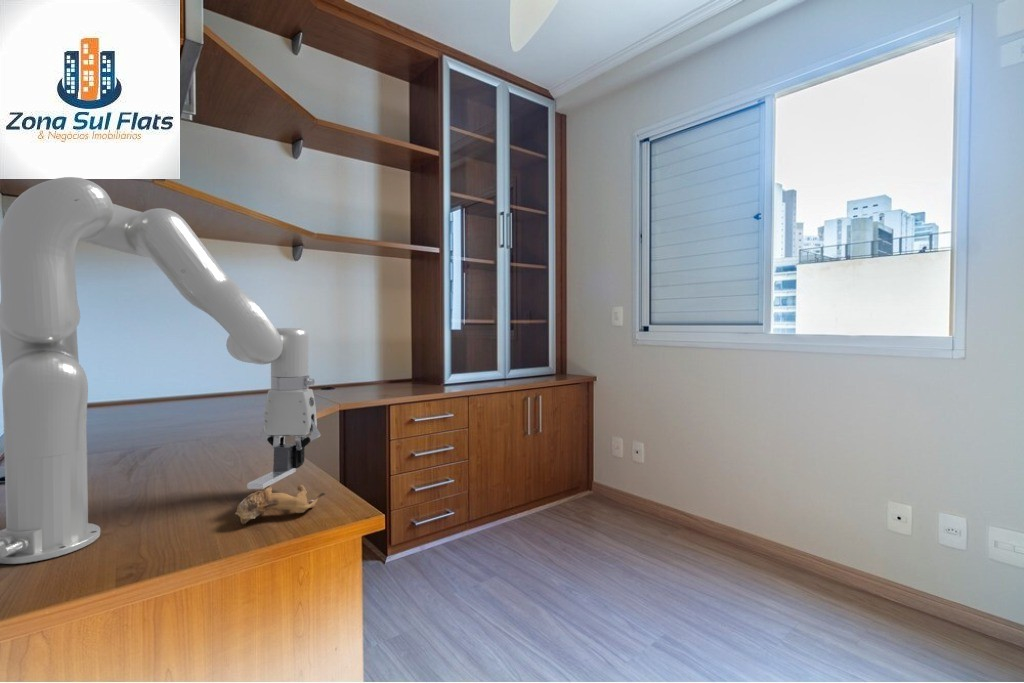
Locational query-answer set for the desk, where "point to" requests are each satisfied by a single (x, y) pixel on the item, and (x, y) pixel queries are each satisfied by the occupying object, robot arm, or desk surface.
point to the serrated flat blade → (277, 467)
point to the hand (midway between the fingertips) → (290, 465)
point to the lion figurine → (273, 503)
